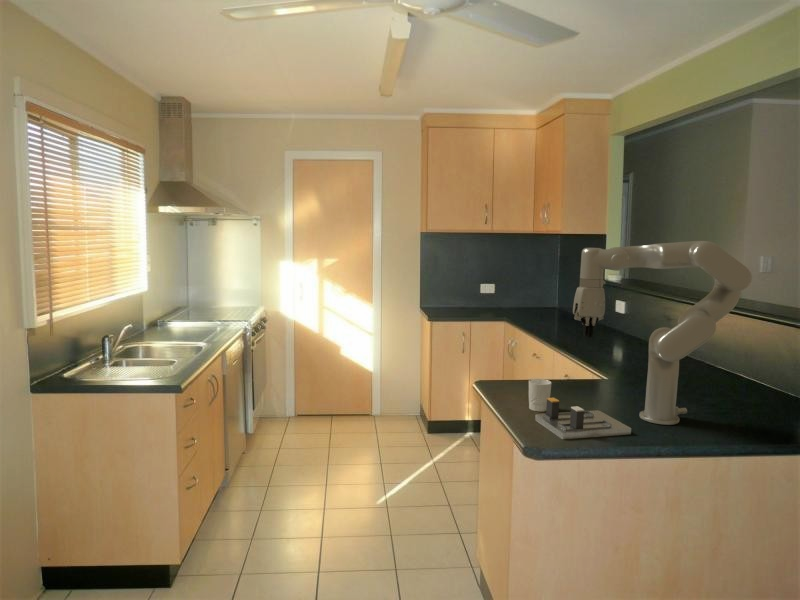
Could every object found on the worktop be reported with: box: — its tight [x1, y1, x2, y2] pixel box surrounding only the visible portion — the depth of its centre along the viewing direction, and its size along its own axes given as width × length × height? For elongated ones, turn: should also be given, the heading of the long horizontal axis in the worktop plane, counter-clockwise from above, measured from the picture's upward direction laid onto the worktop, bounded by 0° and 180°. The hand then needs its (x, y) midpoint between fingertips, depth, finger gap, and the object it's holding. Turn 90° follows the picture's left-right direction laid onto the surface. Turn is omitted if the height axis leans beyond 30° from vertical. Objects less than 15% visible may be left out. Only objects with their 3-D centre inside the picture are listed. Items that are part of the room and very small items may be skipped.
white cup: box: [528, 378, 552, 413], centre depth 209 cm, size 8×8×10 cm
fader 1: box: [545, 397, 560, 419], centre depth 194 cm, size 2×4×6 cm
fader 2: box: [570, 405, 585, 429], centre depth 185 cm, size 2×4×6 cm
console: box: [534, 409, 632, 440], centre depth 191 cm, size 24×18×3 cm
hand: (587, 336), depth 204 cm, fingers closed
